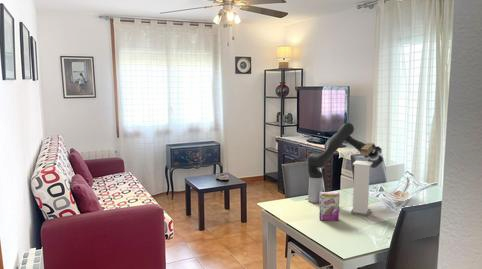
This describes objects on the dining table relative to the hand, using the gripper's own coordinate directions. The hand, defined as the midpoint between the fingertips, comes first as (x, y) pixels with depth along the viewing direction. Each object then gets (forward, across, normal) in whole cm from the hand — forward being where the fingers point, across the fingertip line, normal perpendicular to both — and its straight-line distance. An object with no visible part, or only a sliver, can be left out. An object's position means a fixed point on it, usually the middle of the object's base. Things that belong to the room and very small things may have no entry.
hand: (369, 145), depth 242 cm
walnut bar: (+5, 0, +6) cm, 8 cm away
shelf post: (-1, 0, +45) cm, 45 cm away
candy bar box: (+17, -15, +56) cm, 60 cm away
